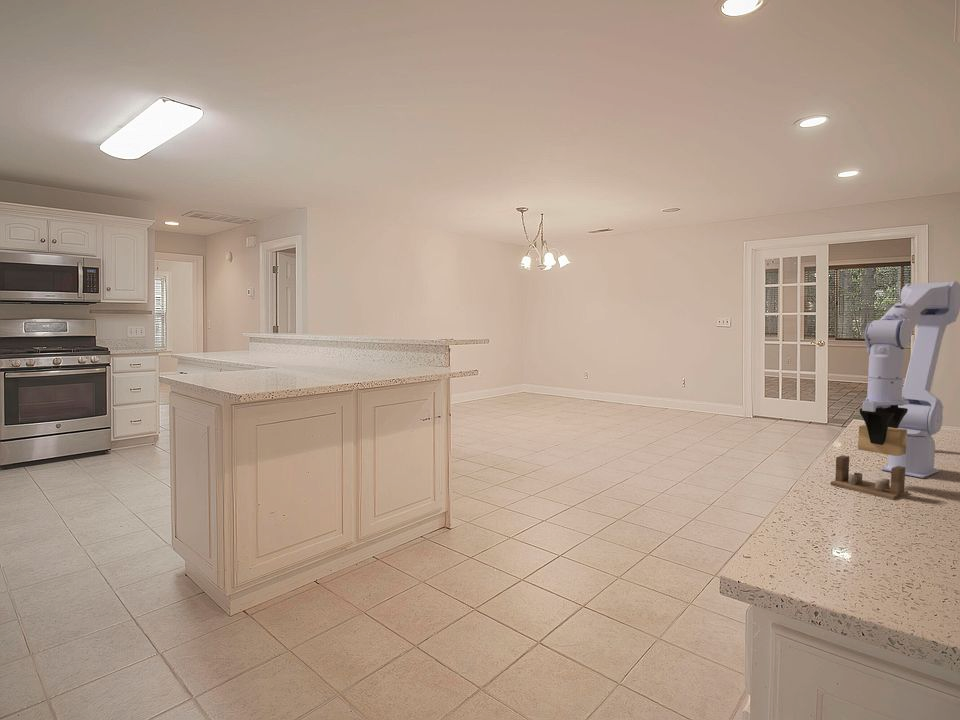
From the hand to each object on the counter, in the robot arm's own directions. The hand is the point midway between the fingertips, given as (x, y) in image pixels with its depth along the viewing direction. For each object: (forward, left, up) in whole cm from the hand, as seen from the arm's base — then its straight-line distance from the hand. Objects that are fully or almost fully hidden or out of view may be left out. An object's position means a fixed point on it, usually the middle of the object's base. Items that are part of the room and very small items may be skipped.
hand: (881, 442), depth 110 cm
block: (0, 0, -2) cm, 2 cm away
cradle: (+5, 0, -9) cm, 10 cm away
